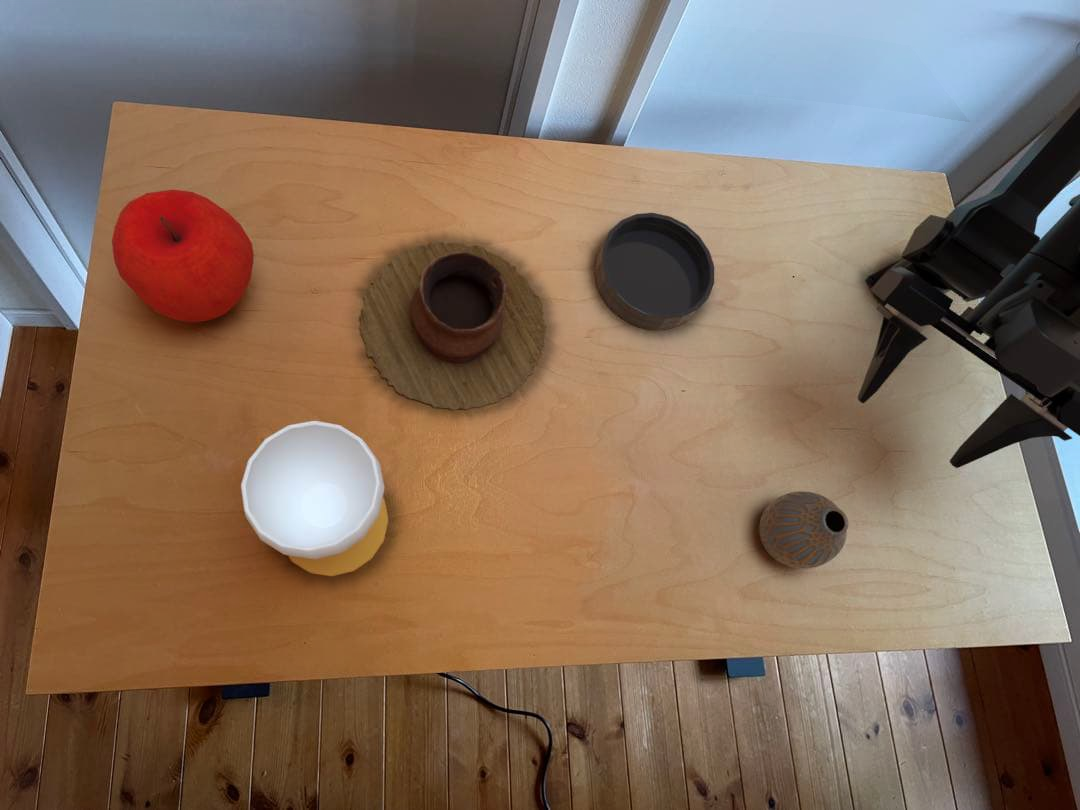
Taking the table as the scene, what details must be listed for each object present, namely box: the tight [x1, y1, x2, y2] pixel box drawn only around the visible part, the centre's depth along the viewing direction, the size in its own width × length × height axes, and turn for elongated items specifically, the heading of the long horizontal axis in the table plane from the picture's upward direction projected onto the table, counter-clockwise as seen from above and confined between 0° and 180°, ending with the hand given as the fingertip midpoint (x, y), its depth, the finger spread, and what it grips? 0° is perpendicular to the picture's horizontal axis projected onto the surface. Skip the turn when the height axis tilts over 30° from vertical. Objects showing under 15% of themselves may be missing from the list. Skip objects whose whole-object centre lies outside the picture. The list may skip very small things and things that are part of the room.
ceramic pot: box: [358, 241, 548, 411], centre depth 62 cm, size 18×18×7 cm
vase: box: [758, 490, 849, 569], centre depth 61 cm, size 7×7×9 cm
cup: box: [240, 420, 389, 577], centre depth 50 cm, size 9×9×16 cm
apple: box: [111, 189, 254, 323], centre depth 56 cm, size 10×10×12 cm
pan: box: [594, 212, 715, 331], centre depth 70 cm, size 12×12×3 cm
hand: (906, 433), depth 56 cm, fingers open, 9 cm apart
